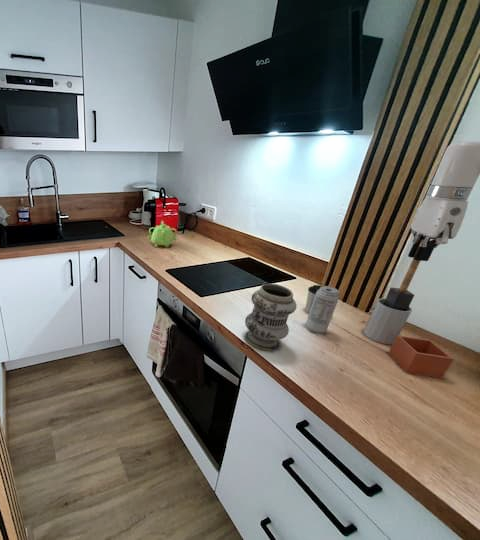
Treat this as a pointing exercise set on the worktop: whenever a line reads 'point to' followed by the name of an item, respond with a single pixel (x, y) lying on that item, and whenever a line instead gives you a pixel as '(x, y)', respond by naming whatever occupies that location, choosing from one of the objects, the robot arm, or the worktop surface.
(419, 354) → the holder
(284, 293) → the apothecary jar
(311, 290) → the coffee cup
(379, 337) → the grey cylindrical container
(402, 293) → the brush
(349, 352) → the worktop surface
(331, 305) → the energy drink can
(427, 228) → the robot arm
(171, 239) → the teapot
